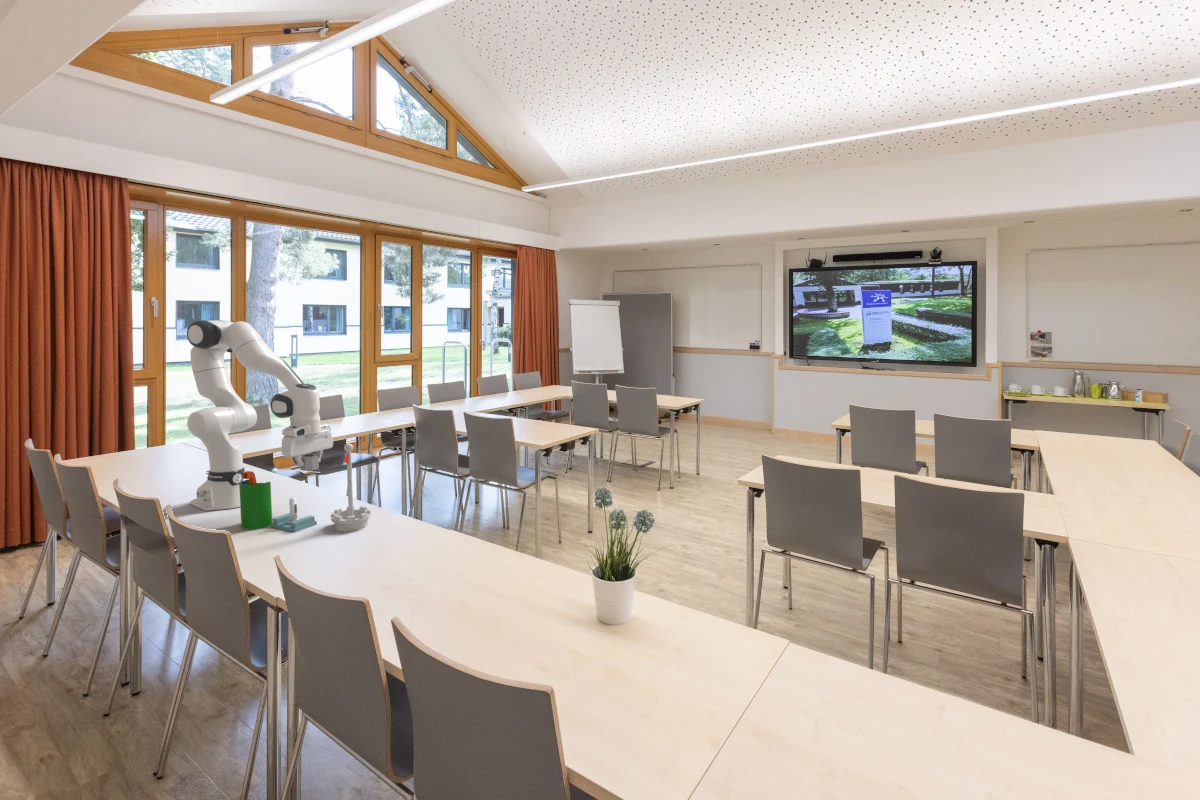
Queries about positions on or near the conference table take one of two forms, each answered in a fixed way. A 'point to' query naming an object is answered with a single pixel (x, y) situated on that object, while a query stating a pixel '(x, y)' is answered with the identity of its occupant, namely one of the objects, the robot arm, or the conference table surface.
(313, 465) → the hub
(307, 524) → the shaft block
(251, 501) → the green cup
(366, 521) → the flag stand
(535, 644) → the conference table surface
